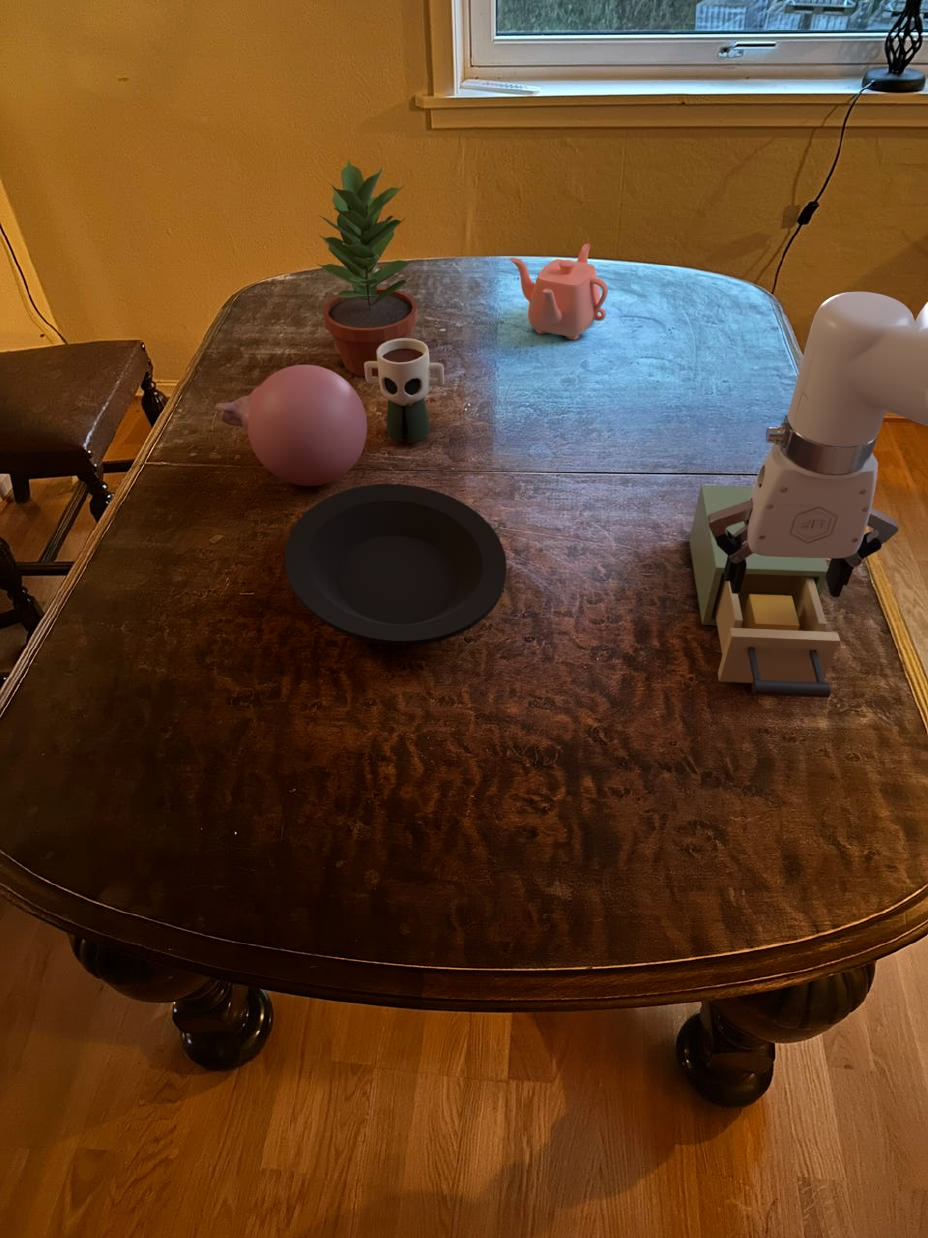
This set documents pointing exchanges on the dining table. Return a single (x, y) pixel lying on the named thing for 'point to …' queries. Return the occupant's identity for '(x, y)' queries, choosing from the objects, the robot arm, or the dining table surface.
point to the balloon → (302, 424)
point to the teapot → (564, 296)
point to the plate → (395, 564)
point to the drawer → (775, 639)
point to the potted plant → (365, 275)
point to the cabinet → (713, 558)
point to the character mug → (405, 385)
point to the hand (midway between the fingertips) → (782, 586)
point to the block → (770, 613)
